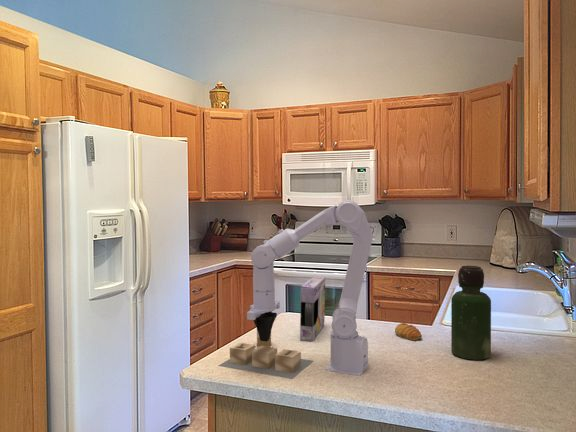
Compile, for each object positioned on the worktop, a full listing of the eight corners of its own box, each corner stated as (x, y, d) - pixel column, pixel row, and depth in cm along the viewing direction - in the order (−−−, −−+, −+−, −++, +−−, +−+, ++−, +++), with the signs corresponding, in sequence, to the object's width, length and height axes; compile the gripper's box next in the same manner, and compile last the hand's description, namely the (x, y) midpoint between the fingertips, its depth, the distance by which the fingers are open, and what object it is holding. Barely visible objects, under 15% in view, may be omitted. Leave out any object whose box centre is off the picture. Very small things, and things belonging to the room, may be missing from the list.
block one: (301, 366, 122) (300, 351, 122) (292, 373, 118) (292, 357, 118) (284, 363, 125) (283, 348, 124) (275, 370, 120) (275, 354, 120)
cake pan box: (313, 342, 144) (313, 286, 143) (298, 341, 145) (297, 285, 145) (326, 326, 162) (325, 276, 162) (312, 325, 164) (311, 275, 163)
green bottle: (496, 354, 132) (496, 266, 131) (482, 363, 124) (482, 270, 123) (460, 346, 139) (460, 263, 138) (445, 355, 131) (445, 267, 130)
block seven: (255, 359, 129) (254, 344, 128) (245, 364, 124) (245, 349, 124) (239, 356, 131) (239, 342, 131) (229, 362, 126) (229, 347, 126)
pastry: (427, 340, 146) (427, 328, 146) (409, 343, 144) (409, 330, 143) (409, 332, 155) (409, 321, 155) (392, 334, 152) (392, 323, 152)
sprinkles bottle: (256, 344, 142) (255, 301, 142) (271, 344, 143) (270, 301, 142) (256, 349, 138) (256, 304, 137) (272, 349, 138) (272, 304, 138)
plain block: (277, 362, 125) (277, 348, 125) (268, 368, 121) (268, 353, 121) (261, 360, 128) (261, 345, 128) (252, 366, 123) (251, 351, 123)
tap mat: (314, 362, 127) (314, 360, 127) (292, 380, 114) (292, 378, 114) (245, 351, 136) (245, 350, 136) (217, 367, 124) (217, 365, 124)
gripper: (264, 284, 132) (264, 331, 132) (236, 293, 119) (237, 346, 119) (286, 286, 129) (286, 334, 129) (260, 296, 116) (261, 349, 116)
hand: (264, 340), depth 124 cm, fingers closed
